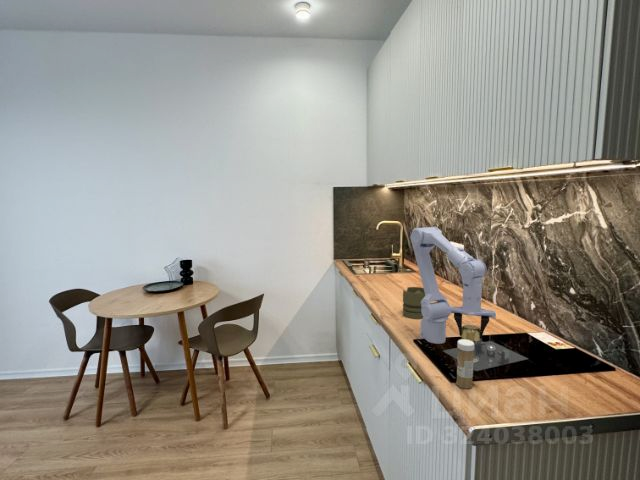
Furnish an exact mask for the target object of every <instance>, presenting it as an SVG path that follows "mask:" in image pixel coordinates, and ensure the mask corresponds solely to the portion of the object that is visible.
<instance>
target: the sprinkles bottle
mask: <svg viewBox="0 0 640 480" xmlns="http://www.w3.org/2000/svg"><path fill="white" fill-rule="evenodd" d="M474 344H475V341H470V340H466V339H463V338H461V339H458V340H457V344H456V346H457V347H456V348H458V360H457V359H456V360H457V363H456V365H457V367H456V385H457V386H458V387H459V388H462V389H472V388H473V385H474V384H473V377H474V375H473V374H474V370H473V351H474Z"/></svg>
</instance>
